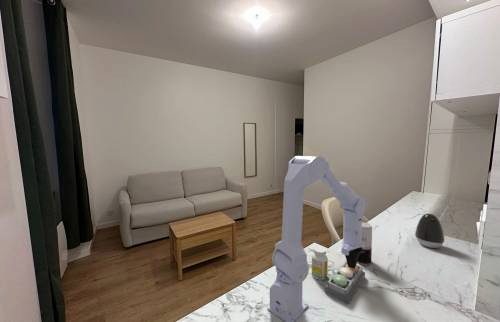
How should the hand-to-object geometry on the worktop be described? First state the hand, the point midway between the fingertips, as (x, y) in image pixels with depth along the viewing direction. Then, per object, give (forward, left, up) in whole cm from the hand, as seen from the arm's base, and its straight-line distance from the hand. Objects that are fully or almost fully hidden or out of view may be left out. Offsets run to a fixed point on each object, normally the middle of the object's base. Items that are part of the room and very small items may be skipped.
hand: (351, 267), depth 70 cm
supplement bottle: (-7, +9, -4) cm, 12 cm away
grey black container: (+14, +1, -4) cm, 15 cm away
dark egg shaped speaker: (+50, -18, -4) cm, 54 cm away
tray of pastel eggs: (-6, 0, -4) cm, 7 cm away
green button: (-11, 0, 0) cm, 11 cm away
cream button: (-6, 0, 0) cm, 6 cm away
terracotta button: (0, 0, -2) cm, 2 cm away
